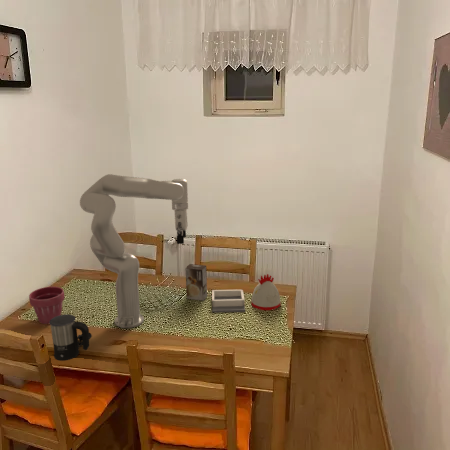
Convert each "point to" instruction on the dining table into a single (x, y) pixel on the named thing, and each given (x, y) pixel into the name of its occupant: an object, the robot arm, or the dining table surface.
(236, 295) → the dock
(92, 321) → the dining table surface
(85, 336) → the milk frother
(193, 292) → the coffee box
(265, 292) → the grey red beanie hat
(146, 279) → the dining table surface
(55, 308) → the plant pot
